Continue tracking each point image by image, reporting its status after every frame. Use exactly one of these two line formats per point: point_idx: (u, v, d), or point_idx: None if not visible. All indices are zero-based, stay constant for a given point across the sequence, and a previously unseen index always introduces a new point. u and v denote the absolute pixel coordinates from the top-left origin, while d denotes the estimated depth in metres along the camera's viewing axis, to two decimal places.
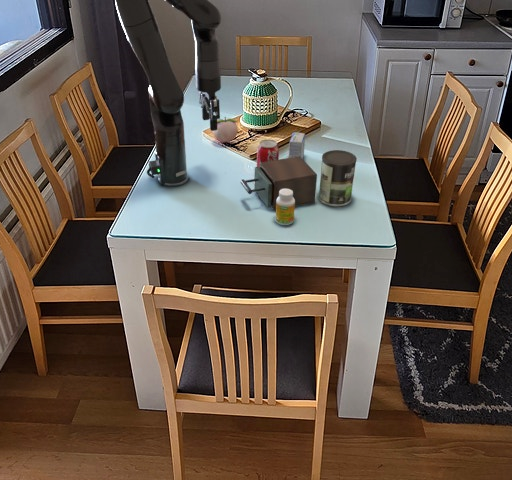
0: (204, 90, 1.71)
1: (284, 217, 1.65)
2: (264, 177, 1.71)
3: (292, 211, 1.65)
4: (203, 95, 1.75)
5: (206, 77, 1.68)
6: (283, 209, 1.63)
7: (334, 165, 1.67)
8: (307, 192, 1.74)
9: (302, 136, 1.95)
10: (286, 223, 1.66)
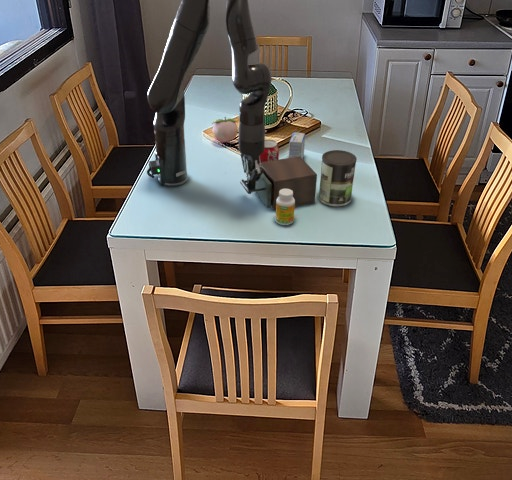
0: (248, 153, 1.63)
1: (284, 217, 1.65)
2: (264, 177, 1.71)
3: (292, 211, 1.65)
4: (245, 156, 1.68)
5: (251, 141, 1.60)
6: (283, 209, 1.63)
7: (334, 165, 1.67)
8: (307, 192, 1.74)
9: (302, 136, 1.95)
10: (286, 223, 1.66)
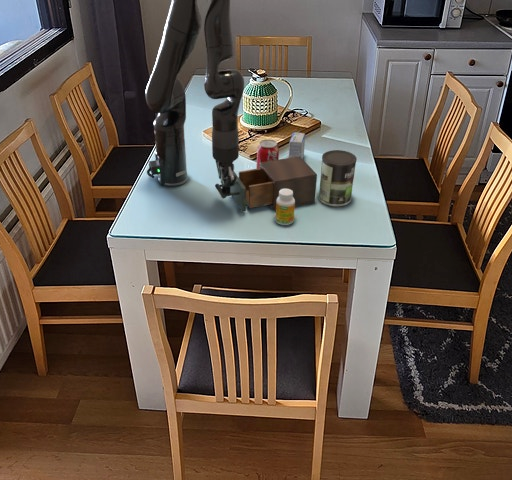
0: (221, 160, 1.61)
1: (284, 217, 1.65)
2: (238, 181, 1.69)
3: (292, 211, 1.65)
4: (219, 162, 1.66)
5: (224, 147, 1.59)
6: (283, 209, 1.63)
7: (334, 165, 1.67)
8: (307, 192, 1.74)
9: (302, 136, 1.95)
10: (286, 223, 1.66)
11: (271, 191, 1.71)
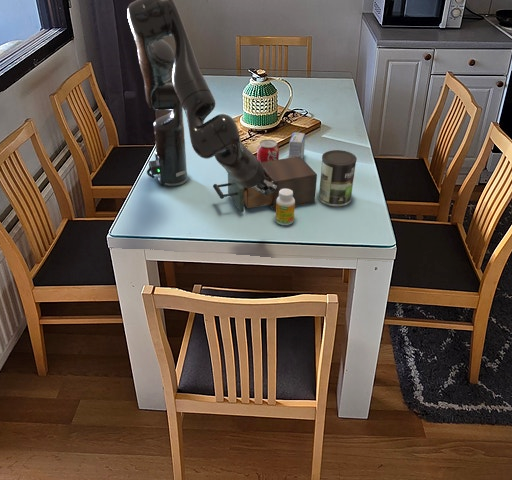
0: (255, 184, 1.40)
1: (284, 217, 1.65)
2: (236, 182, 1.69)
3: (292, 211, 1.65)
4: None
5: (252, 176, 1.37)
6: (283, 209, 1.63)
7: (334, 165, 1.67)
8: (307, 192, 1.74)
9: (302, 136, 1.95)
10: (286, 223, 1.66)
11: None
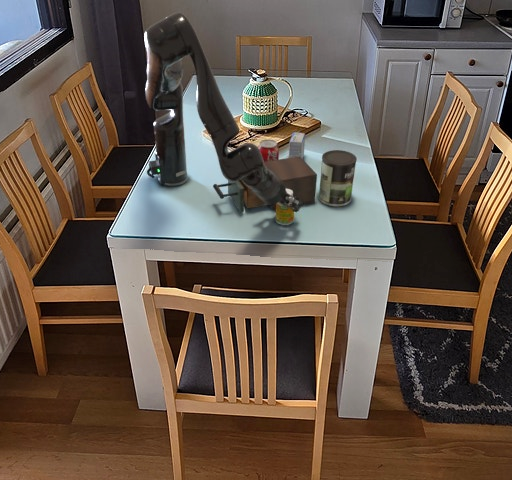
0: (278, 201, 1.54)
1: (284, 217, 1.65)
2: (236, 182, 1.69)
3: (292, 211, 1.65)
4: None
5: (275, 194, 1.51)
6: (283, 209, 1.63)
7: (334, 165, 1.67)
8: (307, 192, 1.74)
9: (302, 136, 1.95)
10: (286, 223, 1.66)
11: None
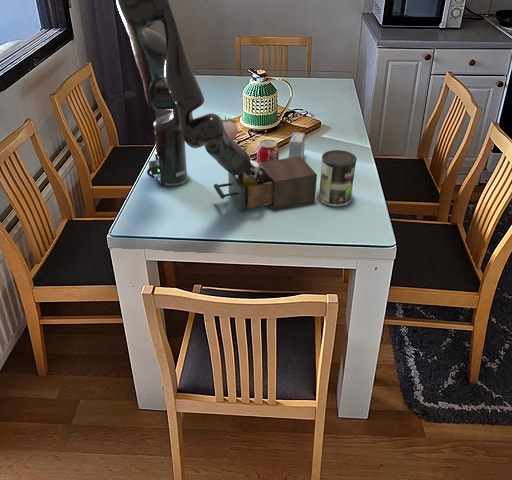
0: (243, 172, 1.60)
1: None
2: (237, 181, 1.69)
3: (258, 183, 1.71)
4: None
5: (239, 165, 1.57)
6: (249, 181, 1.69)
7: (334, 165, 1.67)
8: (307, 192, 1.74)
9: (302, 136, 1.95)
10: None
11: (270, 191, 1.71)
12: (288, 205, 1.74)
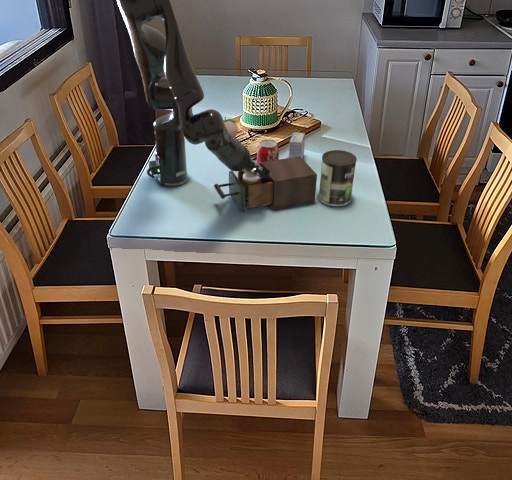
0: (243, 168, 1.60)
1: None
2: (237, 181, 1.69)
3: None
4: None
5: (239, 161, 1.56)
6: (249, 184, 1.70)
7: (334, 165, 1.67)
8: (307, 192, 1.74)
9: (302, 136, 1.95)
10: None
11: (270, 191, 1.71)
12: (288, 205, 1.74)
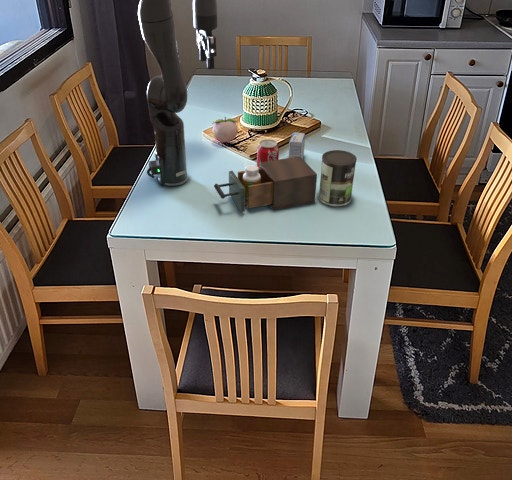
0: None
1: None
2: (237, 181, 1.69)
3: None
4: None
5: None
6: (249, 184, 1.70)
7: (334, 165, 1.67)
8: (307, 192, 1.74)
9: (302, 136, 1.95)
10: None
11: (270, 191, 1.71)
12: (288, 205, 1.74)
